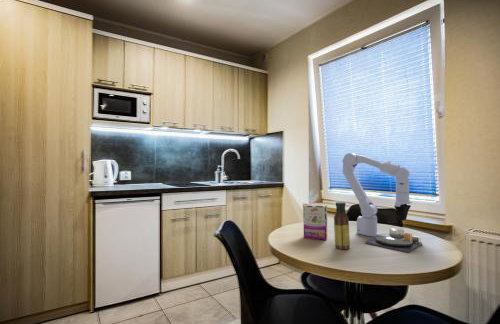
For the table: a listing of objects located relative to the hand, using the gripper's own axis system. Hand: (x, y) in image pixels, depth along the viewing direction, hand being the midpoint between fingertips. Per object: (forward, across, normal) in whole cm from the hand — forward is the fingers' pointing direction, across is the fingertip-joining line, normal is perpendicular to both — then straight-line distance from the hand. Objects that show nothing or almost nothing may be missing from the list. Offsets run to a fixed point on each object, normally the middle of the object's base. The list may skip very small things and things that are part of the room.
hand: (402, 219), depth 131 cm
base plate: (+9, -12, 0) cm, 15 cm away
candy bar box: (+10, -30, +30) cm, 43 cm away
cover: (+6, -8, 0) cm, 10 cm away
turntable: (+8, -12, 0) cm, 15 cm away
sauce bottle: (+10, -35, +13) cm, 39 cm away
